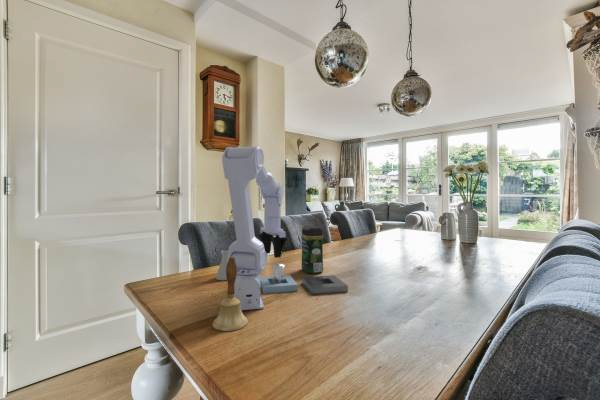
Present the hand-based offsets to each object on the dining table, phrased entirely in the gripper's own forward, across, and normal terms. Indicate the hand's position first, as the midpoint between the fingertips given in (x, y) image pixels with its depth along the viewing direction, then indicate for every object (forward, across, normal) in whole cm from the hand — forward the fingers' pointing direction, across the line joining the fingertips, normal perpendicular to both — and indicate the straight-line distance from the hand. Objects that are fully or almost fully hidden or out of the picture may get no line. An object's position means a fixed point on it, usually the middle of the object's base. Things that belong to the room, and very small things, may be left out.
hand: (272, 255), depth 101 cm
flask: (+10, +13, +12) cm, 20 cm away
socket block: (+9, -15, -12) cm, 21 cm away
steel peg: (+9, -6, +1) cm, 11 cm away
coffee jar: (+10, +3, -20) cm, 23 cm away
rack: (+9, -6, +1) cm, 11 cm away
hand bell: (+10, -23, +24) cm, 35 cm away
